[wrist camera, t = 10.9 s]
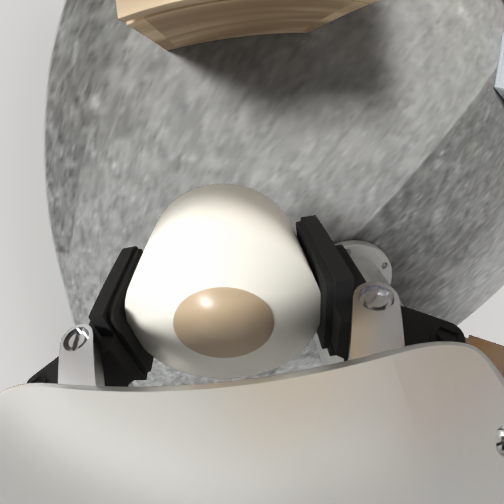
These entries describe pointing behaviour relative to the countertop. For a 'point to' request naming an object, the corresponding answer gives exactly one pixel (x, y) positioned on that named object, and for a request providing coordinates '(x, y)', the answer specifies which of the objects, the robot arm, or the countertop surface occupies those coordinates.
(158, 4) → the wooden box lid
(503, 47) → the tea box
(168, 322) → the white tan-spotted round part
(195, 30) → the box
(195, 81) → the countertop surface
